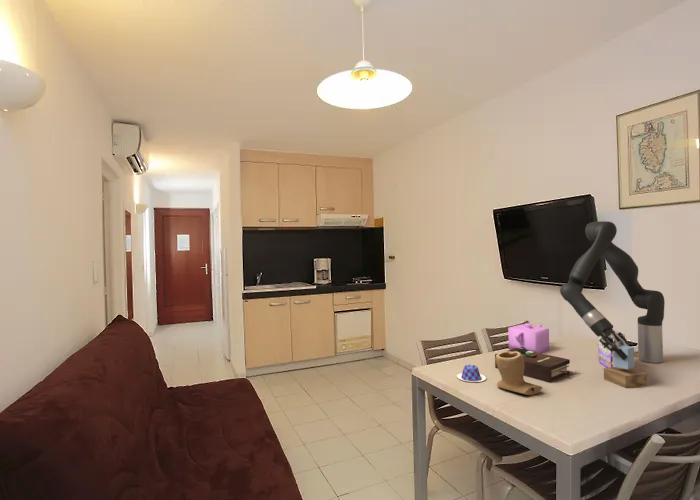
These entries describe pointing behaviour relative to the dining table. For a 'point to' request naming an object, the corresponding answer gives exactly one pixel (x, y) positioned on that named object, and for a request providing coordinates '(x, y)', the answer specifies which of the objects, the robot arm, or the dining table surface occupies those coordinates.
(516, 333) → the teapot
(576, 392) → the dining table surface
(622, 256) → the robot arm
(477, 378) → the pudding
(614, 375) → the walnut block
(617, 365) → the slate-blue block
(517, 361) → the tan hollow piece
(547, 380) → the decorative book
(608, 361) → the candy box
